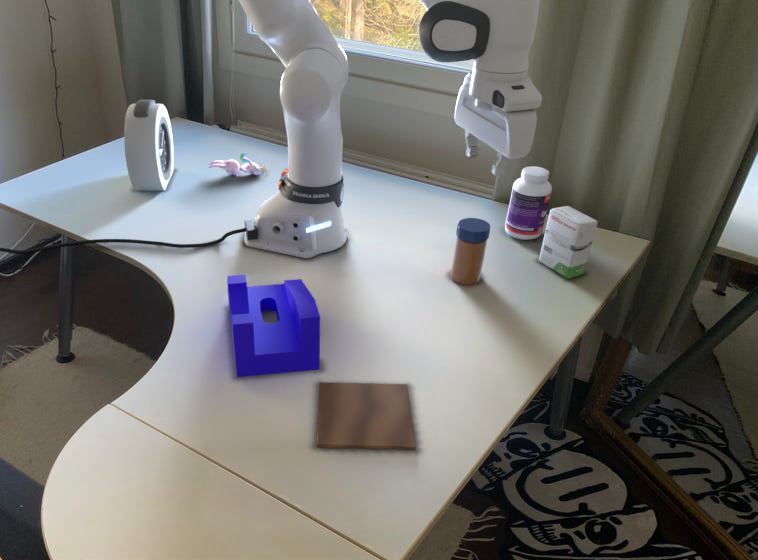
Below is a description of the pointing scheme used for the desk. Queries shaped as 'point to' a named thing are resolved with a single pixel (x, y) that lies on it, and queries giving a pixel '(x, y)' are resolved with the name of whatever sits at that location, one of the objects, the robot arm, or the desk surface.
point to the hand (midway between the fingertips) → (484, 165)
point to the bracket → (273, 327)
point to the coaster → (364, 416)
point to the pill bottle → (528, 204)
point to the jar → (467, 261)
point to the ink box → (567, 241)
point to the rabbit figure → (238, 166)
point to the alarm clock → (148, 146)
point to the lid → (473, 230)
